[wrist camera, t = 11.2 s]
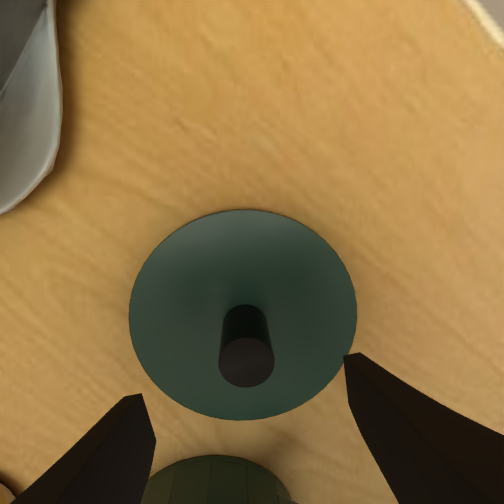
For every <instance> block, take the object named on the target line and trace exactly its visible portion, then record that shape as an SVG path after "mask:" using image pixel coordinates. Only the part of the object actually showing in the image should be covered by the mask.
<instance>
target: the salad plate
mask: <svg viewBox="0 0 504 504" xmlns="http://www.w3.org/2000/svg"><path fill="white" fill-rule="evenodd" d="M56 1H57V0H0V215H2V214H4V213H8V212H9V211H11V210H12V209H14V208H15V207H16V206H17V205H18V204H19V203H20V202H21V201H22V200H23V199H25V198H26V197H27V196H28V195H29V194H30V193H31V192H32V191H33V190H34V189H35V188H36V187H37V186H38V184H39V183H40V182H41V181H42V180H43V179H44V178H45V177H46V176H47V175H48V174H49V173H50V172H51V171H52V170H53V167H54V163H55V159H56V156H57V153H58V150H59V146H60V135H61V125H62V115H63V100H62V93H63V87H62V80H61V72H60V64H59V47H58V37H57V27H56Z"/></svg>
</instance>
